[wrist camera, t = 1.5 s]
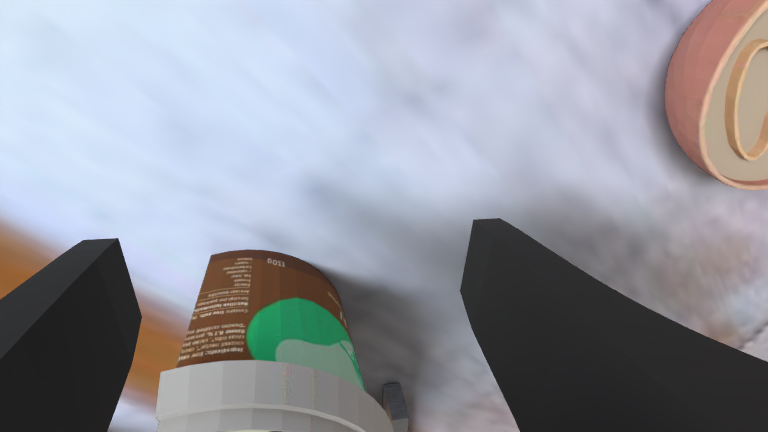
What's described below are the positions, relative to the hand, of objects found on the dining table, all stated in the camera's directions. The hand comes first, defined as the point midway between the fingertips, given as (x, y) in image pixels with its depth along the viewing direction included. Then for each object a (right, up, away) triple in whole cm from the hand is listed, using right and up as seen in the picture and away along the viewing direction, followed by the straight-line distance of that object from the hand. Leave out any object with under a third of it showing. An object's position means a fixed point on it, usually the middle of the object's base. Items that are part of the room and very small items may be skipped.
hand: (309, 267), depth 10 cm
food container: (-3, -4, +15) cm, 15 cm away
